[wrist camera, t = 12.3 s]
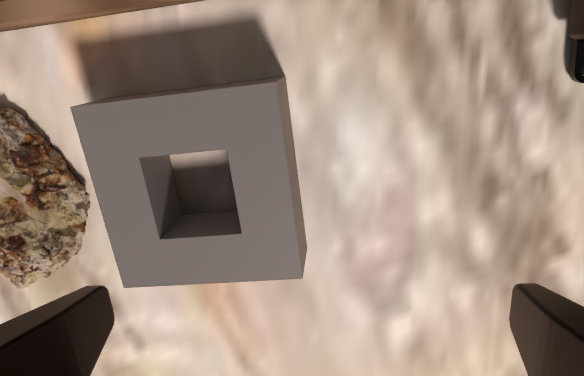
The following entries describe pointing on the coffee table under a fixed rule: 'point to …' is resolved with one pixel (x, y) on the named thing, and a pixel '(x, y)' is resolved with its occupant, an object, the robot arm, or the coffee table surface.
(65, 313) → the robot arm
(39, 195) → the mineral rock
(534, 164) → the coffee table surface
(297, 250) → the block
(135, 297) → the coffee table surface
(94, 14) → the walnut tray
